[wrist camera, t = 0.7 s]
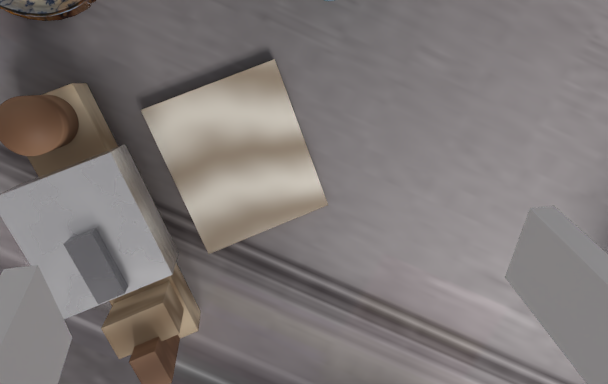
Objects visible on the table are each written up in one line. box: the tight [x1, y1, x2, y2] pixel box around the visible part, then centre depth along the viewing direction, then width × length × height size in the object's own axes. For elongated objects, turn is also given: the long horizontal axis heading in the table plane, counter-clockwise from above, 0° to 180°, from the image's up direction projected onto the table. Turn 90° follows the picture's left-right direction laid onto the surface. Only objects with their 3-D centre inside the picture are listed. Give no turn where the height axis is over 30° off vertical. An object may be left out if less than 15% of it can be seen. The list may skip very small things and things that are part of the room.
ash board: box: [141, 59, 328, 254], centre depth 39 cm, size 14×12×1 cm
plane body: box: [0, 83, 200, 384], centre depth 34 cm, size 23×6×10 cm, turn 20°
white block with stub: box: [0, 144, 179, 319], centre depth 33 cm, size 10×8×6 cm
